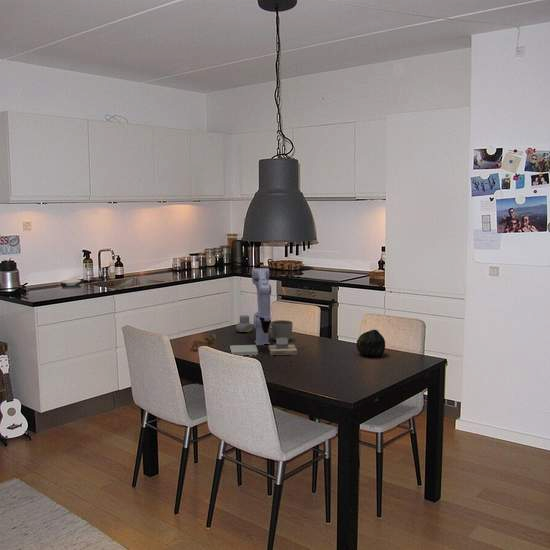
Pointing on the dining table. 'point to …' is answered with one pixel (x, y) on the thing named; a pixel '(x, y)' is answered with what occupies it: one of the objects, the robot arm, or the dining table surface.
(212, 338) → the fried chicken drumstick
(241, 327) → the air freshener
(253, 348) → the stand
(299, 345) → the dining table surface
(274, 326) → the planter
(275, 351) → the stand
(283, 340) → the block
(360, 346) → the squash
